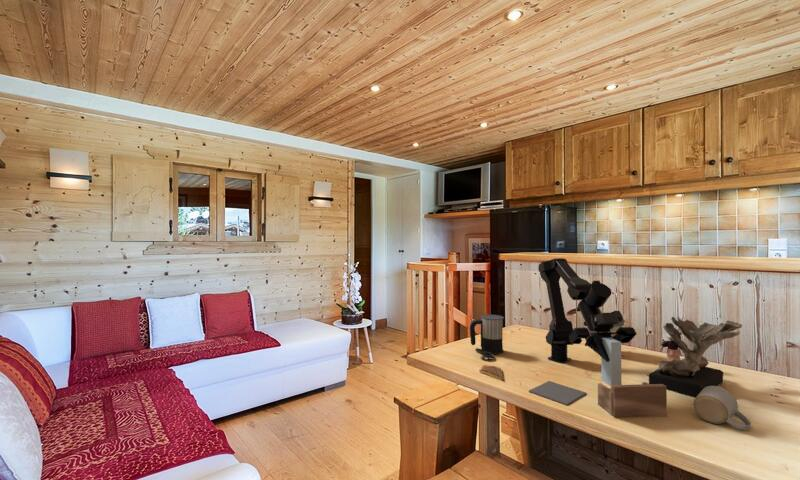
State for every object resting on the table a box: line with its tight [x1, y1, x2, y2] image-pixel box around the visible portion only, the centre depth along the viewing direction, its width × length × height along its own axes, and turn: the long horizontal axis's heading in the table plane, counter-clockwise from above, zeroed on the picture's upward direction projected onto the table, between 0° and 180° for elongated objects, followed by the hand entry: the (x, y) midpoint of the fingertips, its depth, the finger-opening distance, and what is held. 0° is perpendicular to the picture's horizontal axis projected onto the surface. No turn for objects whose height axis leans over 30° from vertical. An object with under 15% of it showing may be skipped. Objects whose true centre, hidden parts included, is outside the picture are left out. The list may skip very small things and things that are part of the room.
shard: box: [479, 364, 504, 381], centre depth 127 cm, size 11×8×2 cm
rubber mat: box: [528, 380, 587, 406], centre depth 111 cm, size 12×12×1 cm
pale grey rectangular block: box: [600, 337, 623, 387], centre depth 108 cm, size 5×3×13 cm, turn 2°
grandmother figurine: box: [659, 333, 684, 361], centre depth 134 cm, size 8×4×13 cm, turn 65°
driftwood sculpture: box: [648, 316, 743, 399], centre depth 116 cm, size 25×20×22 cm
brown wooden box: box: [597, 381, 668, 419], centre depth 100 cm, size 8×14×8 cm, turn 92°
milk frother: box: [469, 314, 505, 360], centre depth 149 cm, size 14×16×15 cm
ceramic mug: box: [693, 386, 752, 431], centre depth 93 cm, size 11×8×8 cm
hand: (613, 361), depth 107 cm, fingers closed on pale grey rectangular block, 3 cm apart
